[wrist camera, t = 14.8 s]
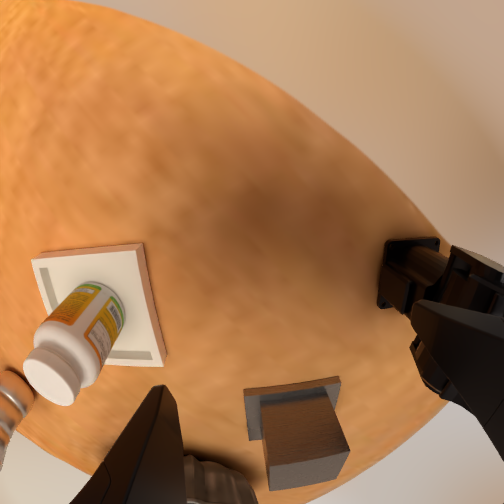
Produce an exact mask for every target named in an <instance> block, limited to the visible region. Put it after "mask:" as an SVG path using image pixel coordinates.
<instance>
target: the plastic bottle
mask: <svg viewBox="0 0 504 504" xmlns="http://www.w3.org/2000/svg"><path fill="white" fill-rule="evenodd" d="M33 403H34V396H33V392H32V390H31V389H30V387H29V386H28V385H27V383H26V382H25V381H24V380H23V379H22V378H21V377H20V376H18V375H17V374H16V373H14V372H12V371H3V372H1V373H0V471H1V469H2V466H3V465H2V464H3V461H4V457H5V453H6V449H7V446H8V444H9V442H10V438H11V437H12V435H13V432H14V431H15V429H16V428H17V426H18V425H19V424H20V422H21V421H22V419H23V418H24V417H26V416H27V414H28V413H29V412H30V411H31V409H32V406H33Z"/></svg>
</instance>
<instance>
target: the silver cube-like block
mask: <svg viewBox="0 0 504 504" xmlns="http://www.w3.org/2000/svg"><path fill="white" fill-rule="evenodd" d="M340 386H341V381H340V379H339V377H338V376H337V377H332V378H327V379H321V380H315V381H310V382H303V383H297V384H289V385H282V386H274V387H264V388H254V389H244V400H245V409H246V418H247V427H248V435H249V441H252V440H262V444H263V451H264V458H265V464H266V471H267V478H268V485H269V491H276V490H283V489H290V488H296V487H302V486H307V485H312V484H317V483H321V482H326V481H330V480H334V479H336V478H337V476H338V474H339V472H340V471H341V469H342V467H343V465H344V463H345V461H346V459H347V457H348V455H349V453H350V449H349V446H348V444H347V441H346V438H345V436H344V433H343V431H342V428H341V426H340V423H339V421H338V418H337V416H336V413H335V411H334V410H335V406H336V403H337V399H338V394H339V390H340Z"/></svg>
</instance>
